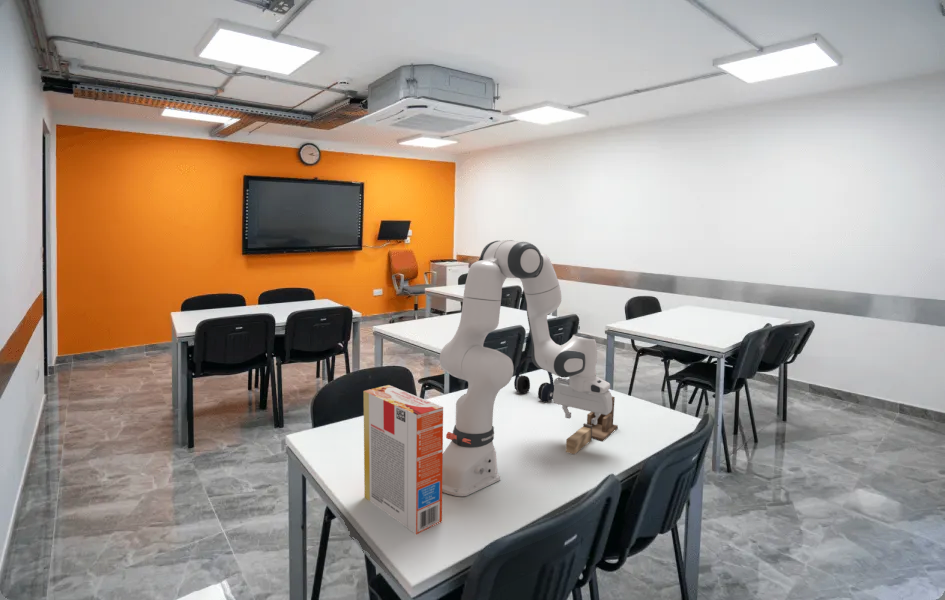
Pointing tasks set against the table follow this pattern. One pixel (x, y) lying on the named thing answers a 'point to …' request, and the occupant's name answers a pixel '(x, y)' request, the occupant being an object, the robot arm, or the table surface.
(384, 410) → the pasta box
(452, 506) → the table surface
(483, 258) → the robot arm
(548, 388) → the headphones
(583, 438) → the bed rail
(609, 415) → the wooden chair
